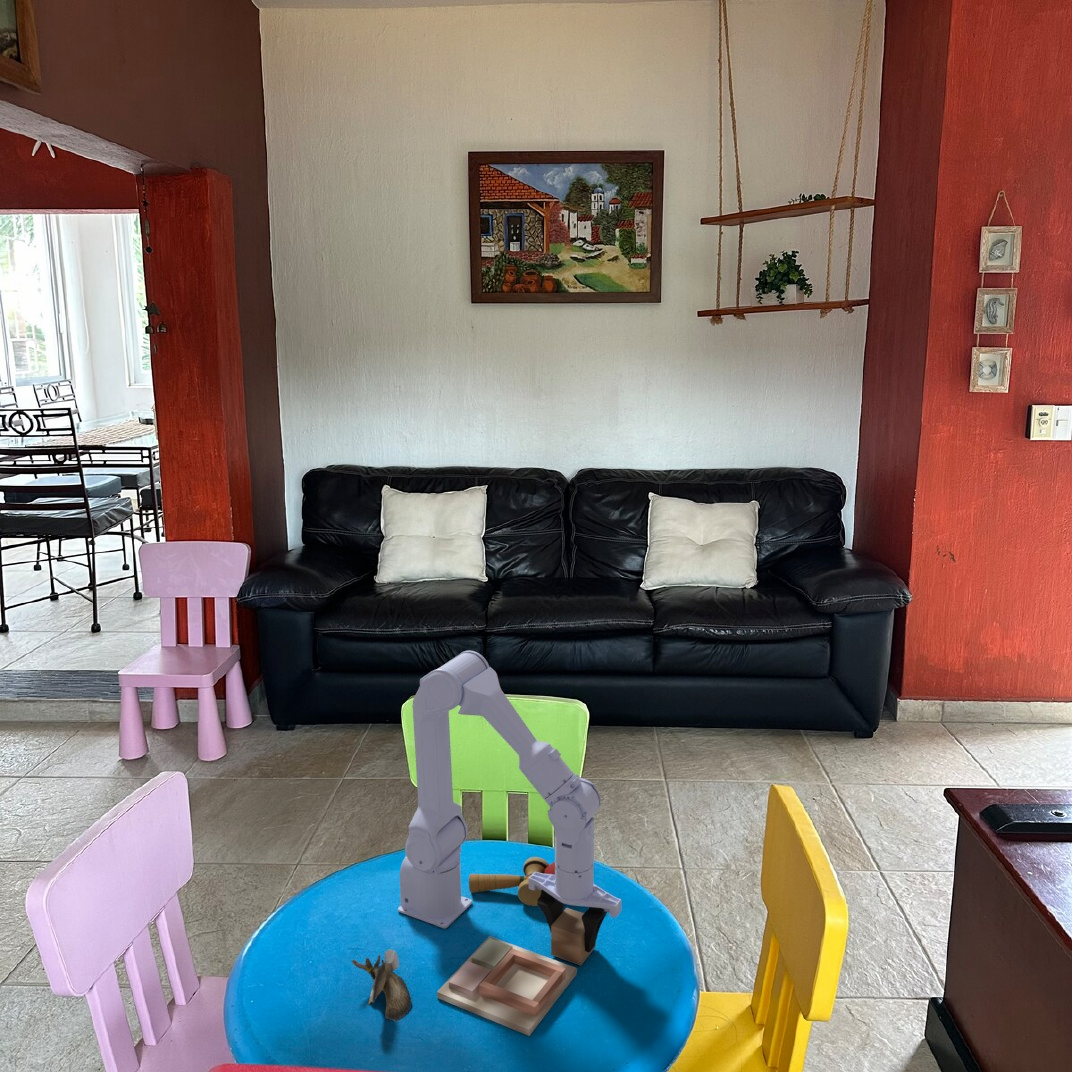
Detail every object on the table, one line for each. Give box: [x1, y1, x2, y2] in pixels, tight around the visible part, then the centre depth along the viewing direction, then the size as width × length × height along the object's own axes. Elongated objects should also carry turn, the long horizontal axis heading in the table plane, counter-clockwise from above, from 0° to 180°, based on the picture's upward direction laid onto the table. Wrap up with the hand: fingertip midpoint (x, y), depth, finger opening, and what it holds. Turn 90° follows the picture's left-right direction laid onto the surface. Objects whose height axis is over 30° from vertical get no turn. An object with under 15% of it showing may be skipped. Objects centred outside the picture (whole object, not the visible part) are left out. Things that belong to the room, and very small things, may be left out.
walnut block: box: [550, 907, 597, 966], centre depth 146 cm, size 5×5×5 cm
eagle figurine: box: [351, 949, 412, 1022], centre depth 137 cm, size 8×7×9 cm
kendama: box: [468, 856, 555, 907], centre depth 161 cm, size 8×6×18 cm
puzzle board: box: [436, 935, 578, 1037], centre depth 140 cm, size 15×14×2 cm
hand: (573, 942), depth 147 cm, fingers closed on walnut block, 5 cm apart
